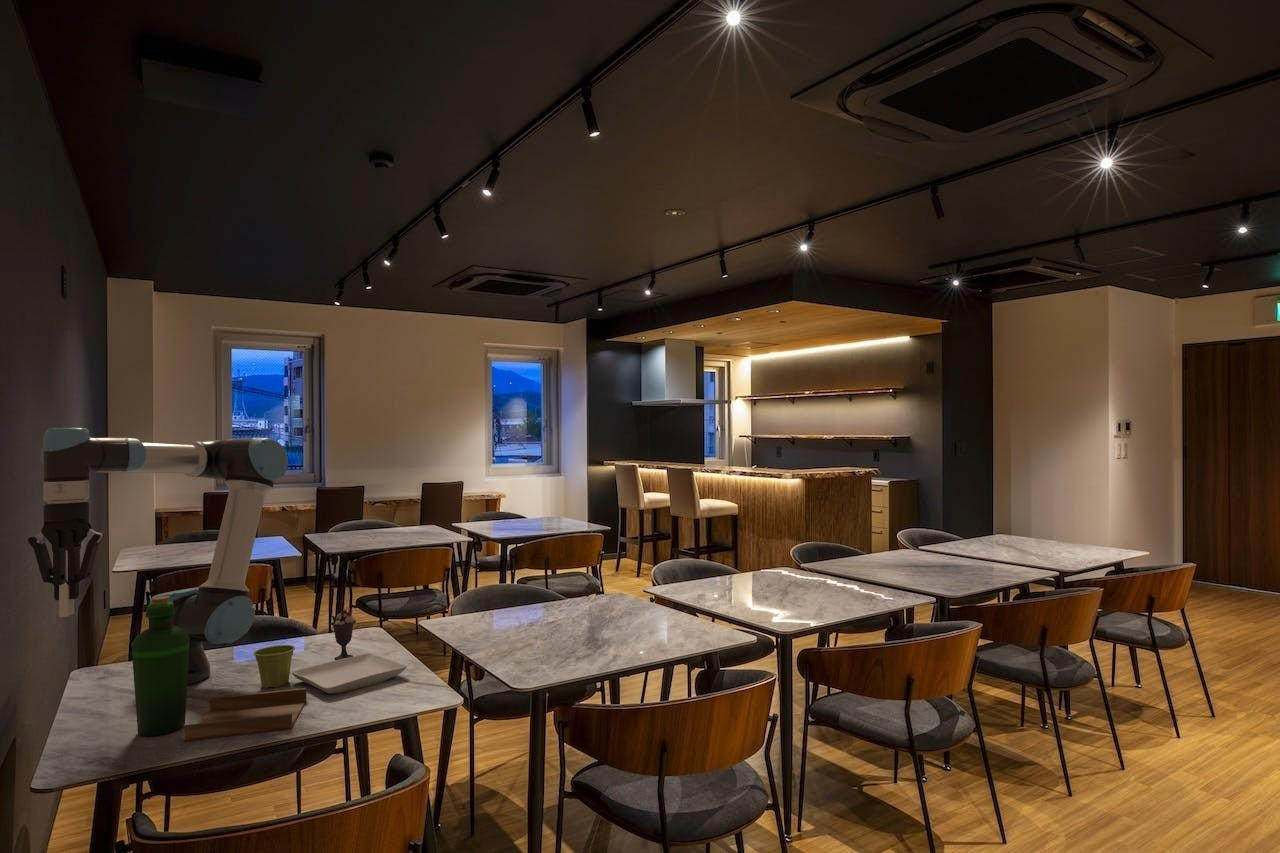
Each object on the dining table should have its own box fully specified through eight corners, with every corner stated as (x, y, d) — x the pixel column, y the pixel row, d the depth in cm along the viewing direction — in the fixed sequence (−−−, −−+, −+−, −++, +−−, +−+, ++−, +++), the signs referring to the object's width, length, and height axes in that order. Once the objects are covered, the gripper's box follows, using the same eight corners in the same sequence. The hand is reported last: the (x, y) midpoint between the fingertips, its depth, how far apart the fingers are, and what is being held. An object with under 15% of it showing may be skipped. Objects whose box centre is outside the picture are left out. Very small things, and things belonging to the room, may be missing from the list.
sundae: (361, 656, 206) (360, 603, 207) (340, 662, 200) (340, 608, 201) (347, 653, 210) (346, 601, 210) (326, 659, 204) (325, 605, 204)
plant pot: (247, 686, 182) (246, 651, 182) (284, 676, 190) (283, 642, 190) (265, 693, 176) (264, 657, 177) (302, 682, 184) (302, 648, 184)
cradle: (211, 711, 165) (211, 697, 165) (306, 700, 170) (306, 687, 170) (184, 741, 148) (184, 726, 148) (291, 729, 153) (291, 714, 153)
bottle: (180, 716, 162) (179, 590, 163) (198, 727, 155) (197, 596, 156) (123, 731, 154) (123, 599, 154) (140, 744, 147) (139, 605, 148)
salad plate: (290, 683, 184) (289, 670, 184) (369, 663, 200) (369, 651, 200) (326, 702, 170) (326, 687, 170) (409, 679, 185) (408, 665, 186)
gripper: (19, 504, 146) (19, 622, 145) (94, 501, 149) (94, 616, 149) (39, 501, 153) (39, 614, 152) (110, 499, 157) (110, 609, 156)
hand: (66, 615), depth 150 cm, fingers closed
